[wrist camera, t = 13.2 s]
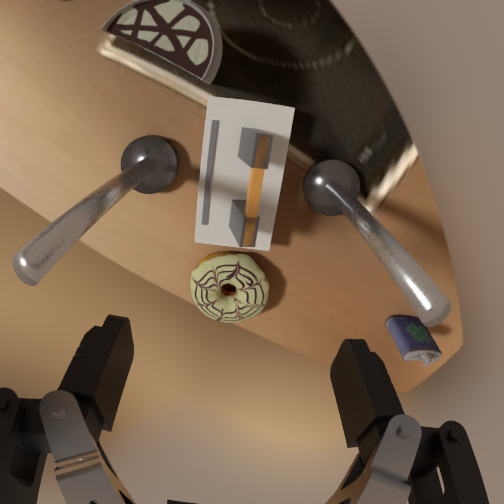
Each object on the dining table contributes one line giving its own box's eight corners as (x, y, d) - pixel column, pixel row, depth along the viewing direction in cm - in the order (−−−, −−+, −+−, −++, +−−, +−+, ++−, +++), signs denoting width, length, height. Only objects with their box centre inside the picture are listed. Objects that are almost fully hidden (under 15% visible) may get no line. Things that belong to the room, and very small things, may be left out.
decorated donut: (248, 234, 39) (249, 248, 35) (278, 295, 43) (281, 312, 40) (179, 263, 40) (174, 278, 37) (215, 318, 45) (213, 335, 42)
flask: (382, 324, 47) (404, 370, 37) (390, 311, 46) (415, 356, 36) (418, 329, 48) (441, 370, 39) (426, 317, 47) (452, 358, 38)
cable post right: (297, 207, 37) (363, 359, 15) (308, 152, 33) (414, 250, 12) (348, 215, 37) (448, 354, 16) (361, 164, 34) (499, 264, 12)
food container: (249, 48, 27) (251, 27, 18) (218, 89, 30) (207, 83, 21) (163, 3, 24) (135, -26, 15) (133, 43, 26) (96, 27, 17)
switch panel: (197, 231, 38) (194, 243, 35) (211, 97, 30) (208, 96, 27) (267, 240, 39) (269, 251, 36) (290, 107, 31) (295, 108, 28)
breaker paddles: (228, 226, 34) (239, 247, 29) (241, 127, 28) (256, 133, 24) (242, 226, 34) (254, 247, 30) (256, 128, 29) (273, 135, 25)
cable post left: (124, 188, 35) (2, 309, 13) (126, 134, 31) (-26, 203, 10) (177, 192, 35) (91, 333, 14) (181, 136, 32) (68, 209, 10)
